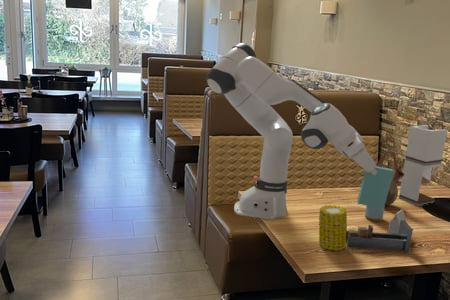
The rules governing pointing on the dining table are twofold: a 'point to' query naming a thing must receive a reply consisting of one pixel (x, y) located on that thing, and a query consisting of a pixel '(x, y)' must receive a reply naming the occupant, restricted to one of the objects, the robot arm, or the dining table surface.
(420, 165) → the white model tower
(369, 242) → the rack
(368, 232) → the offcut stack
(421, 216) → the dining table surface
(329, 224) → the food
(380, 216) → the bottle
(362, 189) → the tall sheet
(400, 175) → the ceramic vessel
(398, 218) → the tea bag
